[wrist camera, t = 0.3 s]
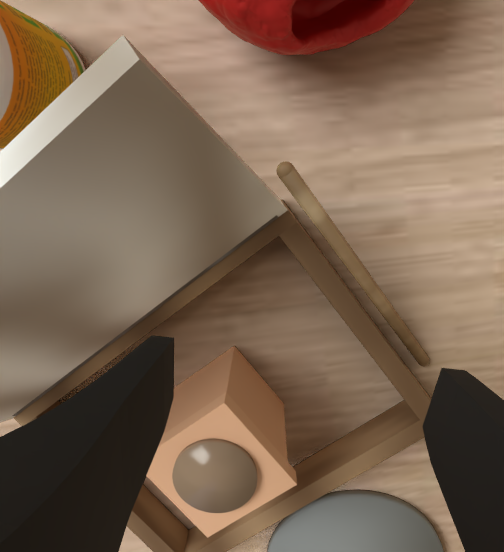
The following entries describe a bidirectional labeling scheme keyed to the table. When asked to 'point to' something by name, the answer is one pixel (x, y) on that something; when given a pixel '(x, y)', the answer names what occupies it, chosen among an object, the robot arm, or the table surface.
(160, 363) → the robot arm
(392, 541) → the mat
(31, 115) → the supplement bottle
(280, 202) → the cold frame
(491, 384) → the table surface
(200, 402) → the orange block with dome
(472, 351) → the table surface
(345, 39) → the hollow red tomato
